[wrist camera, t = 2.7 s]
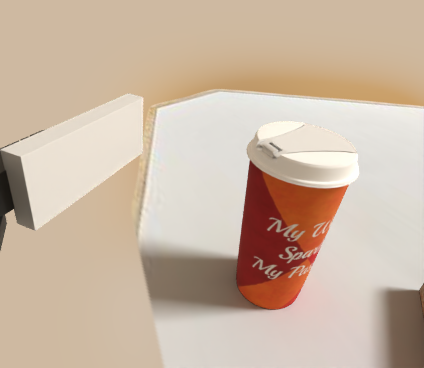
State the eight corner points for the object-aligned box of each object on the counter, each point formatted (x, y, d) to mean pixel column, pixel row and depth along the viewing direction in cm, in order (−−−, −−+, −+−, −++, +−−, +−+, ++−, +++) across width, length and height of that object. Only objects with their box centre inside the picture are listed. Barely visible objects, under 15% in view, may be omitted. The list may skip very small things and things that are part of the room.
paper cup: (256, 335, 26) (301, 178, 19) (208, 266, 32) (228, 123, 24) (330, 300, 30) (392, 157, 22) (275, 244, 35) (310, 114, 28)
